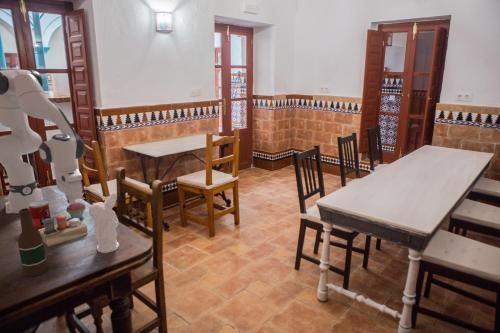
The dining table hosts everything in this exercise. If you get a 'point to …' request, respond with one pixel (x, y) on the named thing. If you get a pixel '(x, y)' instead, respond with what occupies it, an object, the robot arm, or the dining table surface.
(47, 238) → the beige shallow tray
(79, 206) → the cupcake
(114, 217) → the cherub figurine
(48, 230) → the graphite plug
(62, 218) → the red plug
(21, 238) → the beer bottle
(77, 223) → the white rounded piece
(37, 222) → the canned food
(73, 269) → the dining table surface
